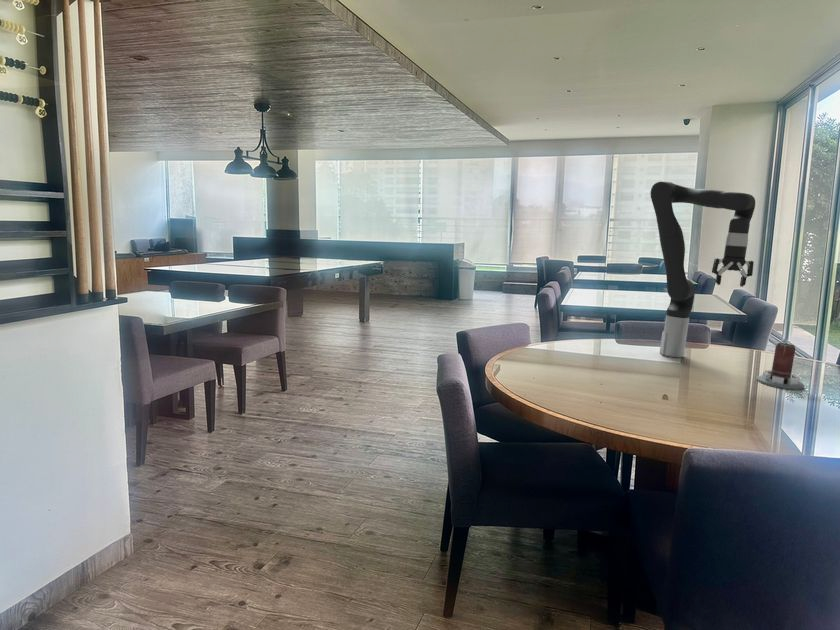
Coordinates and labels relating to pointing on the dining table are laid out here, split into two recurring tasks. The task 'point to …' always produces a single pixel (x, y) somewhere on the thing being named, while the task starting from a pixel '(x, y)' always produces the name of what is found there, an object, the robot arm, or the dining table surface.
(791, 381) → the ring collar
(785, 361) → the can
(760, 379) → the slate plate
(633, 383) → the dining table surface
